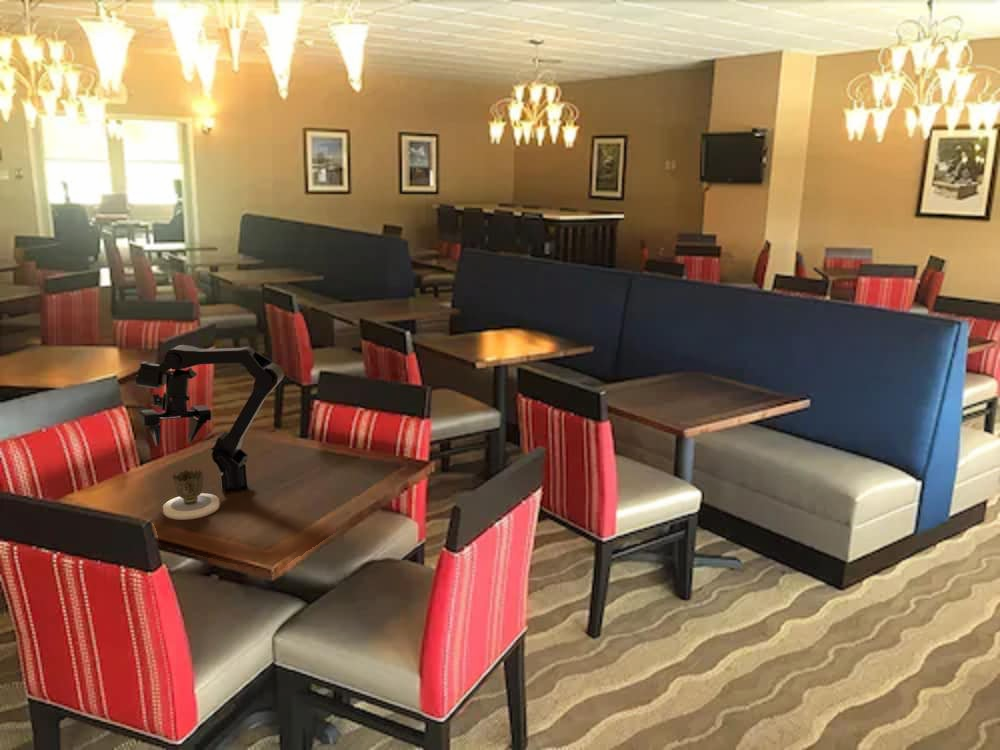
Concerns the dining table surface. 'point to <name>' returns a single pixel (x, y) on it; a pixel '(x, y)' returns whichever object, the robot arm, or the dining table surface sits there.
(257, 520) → the dining table surface
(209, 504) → the hub plate
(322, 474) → the dining table surface
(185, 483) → the cup
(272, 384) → the robot arm
